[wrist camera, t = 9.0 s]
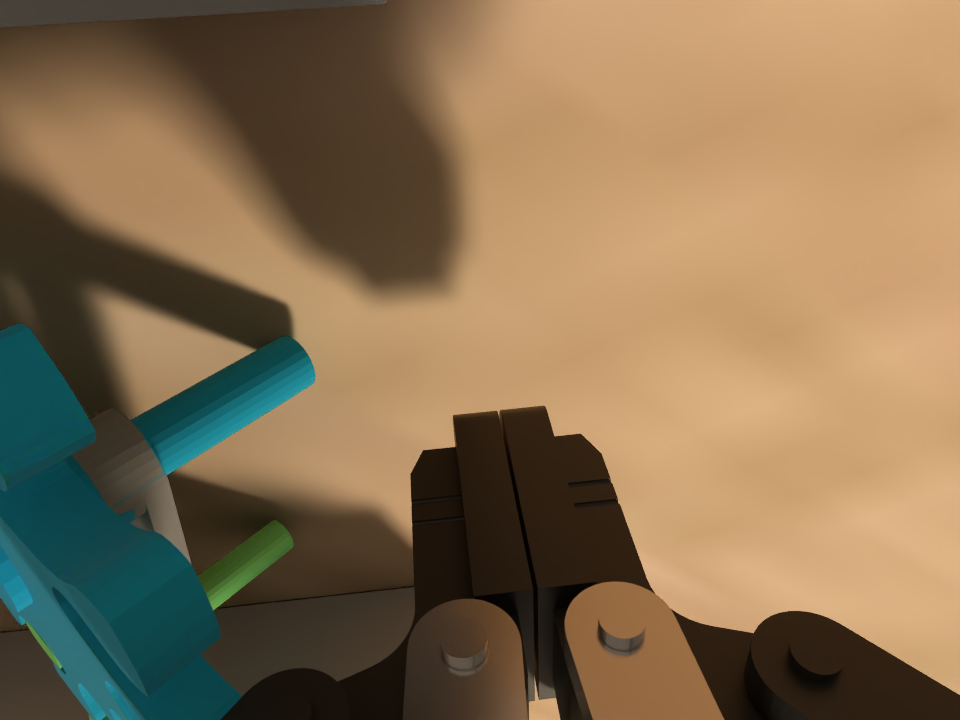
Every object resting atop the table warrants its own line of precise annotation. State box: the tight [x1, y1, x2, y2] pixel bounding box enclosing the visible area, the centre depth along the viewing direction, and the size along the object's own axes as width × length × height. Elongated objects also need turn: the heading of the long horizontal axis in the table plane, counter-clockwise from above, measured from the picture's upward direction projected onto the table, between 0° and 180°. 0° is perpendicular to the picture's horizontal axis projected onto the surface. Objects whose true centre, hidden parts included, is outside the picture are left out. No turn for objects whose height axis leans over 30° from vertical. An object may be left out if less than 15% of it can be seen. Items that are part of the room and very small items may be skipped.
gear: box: [0, 324, 315, 720], centre depth 12 cm, size 11×6×10 cm
